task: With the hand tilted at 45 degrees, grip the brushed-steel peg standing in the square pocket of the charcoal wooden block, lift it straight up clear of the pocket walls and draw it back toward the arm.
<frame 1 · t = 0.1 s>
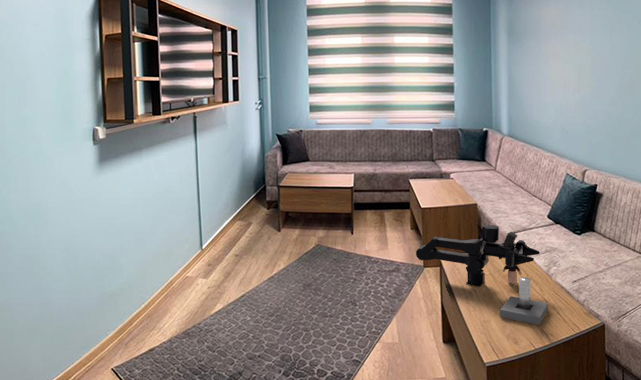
hand: (536, 256, 211), 17 cm above the table, tool horizontal, fingers open, 9 cm apart
grandmother figurine: (511, 284, 225), on the table
steel peg: (524, 296, 196), in the pocket block
pocket block: (524, 313, 197), on the table
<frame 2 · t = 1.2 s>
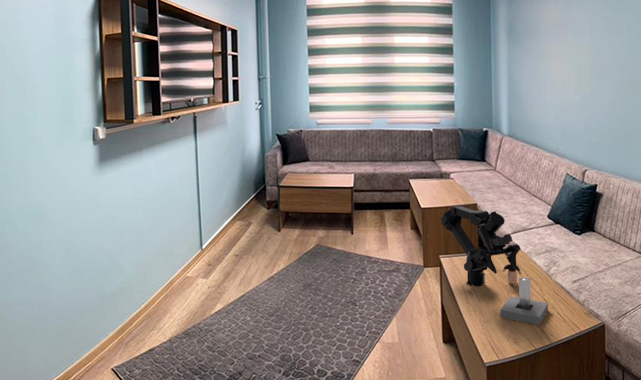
hand: (506, 271, 206), 13 cm above the table, tool tilted 45°, fingers open, 9 cm apart
nothing on the table moved.
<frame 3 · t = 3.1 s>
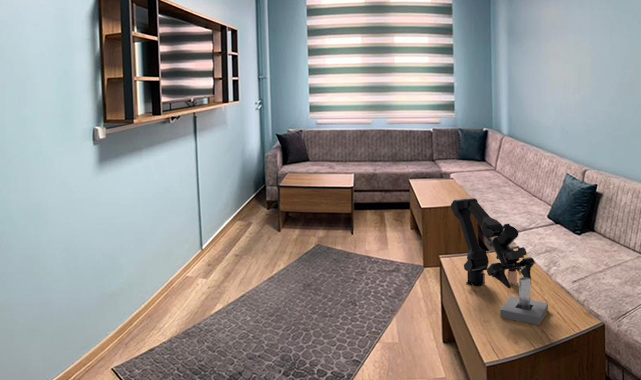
hand: (520, 286, 198), 10 cm above the table, tool tilted 45°, fingers open, 9 cm apart
nothing on the table moved.
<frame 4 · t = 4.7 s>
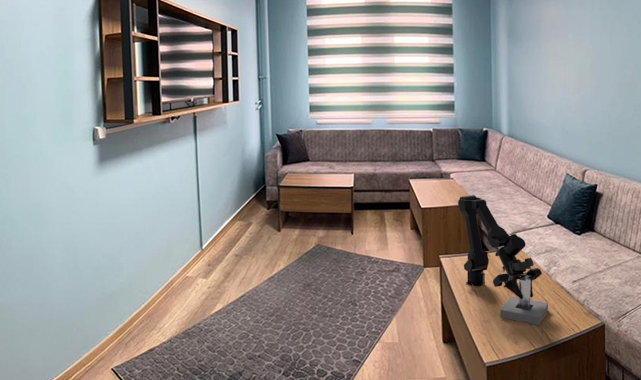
hand: (527, 297, 194), 7 cm above the table, tool tilted 45°, fingers closed on steel peg, 4 cm apart
steel peg: (524, 296, 196), in the pocket block, touching gripper
everything else where it was.
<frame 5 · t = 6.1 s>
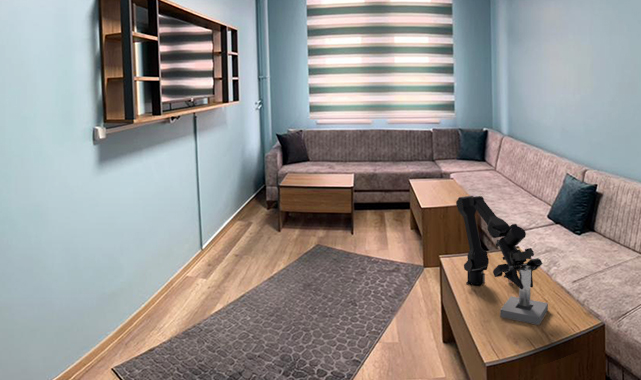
hand: (527, 287, 194), 11 cm above the table, tool tilted 45°, fingers closed on steel peg, 4 cm apart
steel peg: (524, 286, 195), point 11 cm above the table, touching gripper
everything else where it was.
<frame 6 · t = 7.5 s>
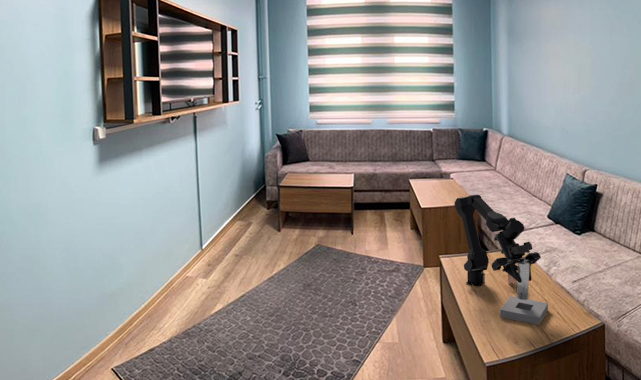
hand: (525, 281, 194), 13 cm above the table, tool tilted 45°, fingers closed on steel peg, 4 cm apart
steel peg: (523, 280, 195), point 13 cm above the table, touching gripper
everything else where it was.
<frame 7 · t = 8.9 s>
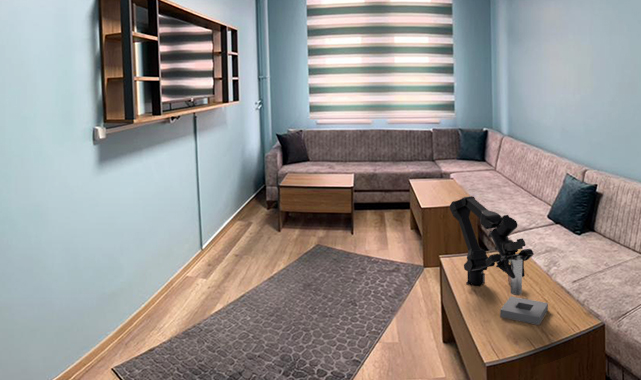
hand: (518, 277, 198), 13 cm above the table, tool tilted 45°, fingers closed on steel peg, 4 cm apart
steel peg: (516, 276, 199), point 13 cm above the table, touching gripper
everything else where it was.
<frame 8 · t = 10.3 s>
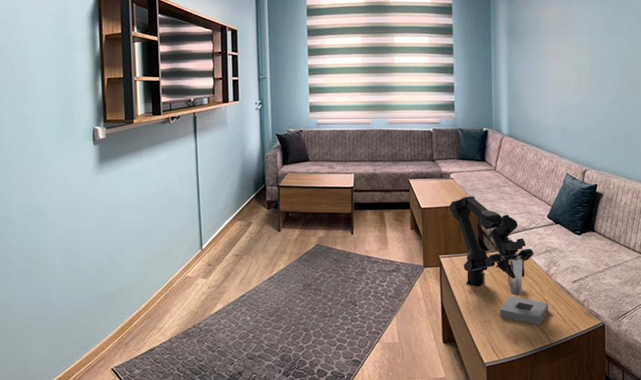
hand: (518, 277, 198), 13 cm above the table, tool tilted 45°, fingers closed on steel peg, 4 cm apart
steel peg: (516, 276, 199), point 13 cm above the table, touching gripper
everything else where it was.
at the end: the gripper is holding steel peg; steel peg point 13.4 cm above the table; steel peg touching gripper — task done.
